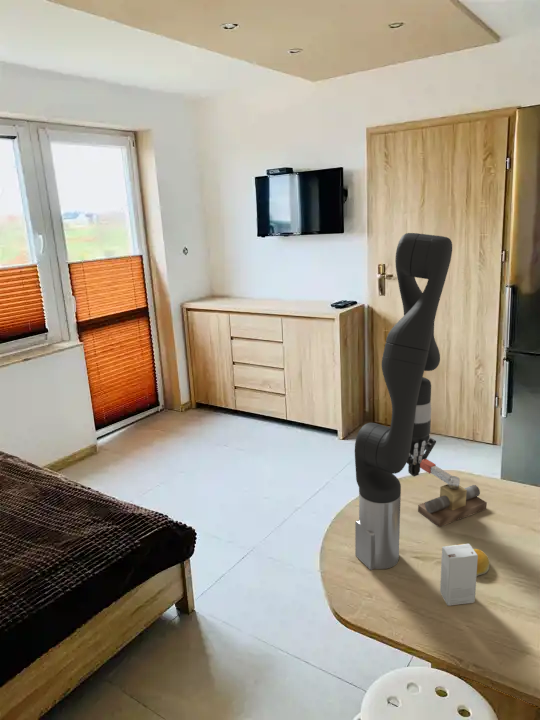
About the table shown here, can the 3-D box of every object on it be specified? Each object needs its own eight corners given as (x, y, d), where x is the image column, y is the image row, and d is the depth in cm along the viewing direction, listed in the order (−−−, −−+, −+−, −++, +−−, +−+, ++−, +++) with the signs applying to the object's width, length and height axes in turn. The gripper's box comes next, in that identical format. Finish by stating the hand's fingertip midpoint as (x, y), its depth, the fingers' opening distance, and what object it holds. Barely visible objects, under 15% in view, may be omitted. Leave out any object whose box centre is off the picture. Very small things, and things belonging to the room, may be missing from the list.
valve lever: (461, 487, 146) (462, 479, 145) (453, 490, 144) (453, 482, 144) (426, 465, 157) (426, 458, 156) (418, 468, 156) (418, 460, 155)
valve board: (439, 527, 142) (440, 502, 140) (418, 511, 149) (418, 488, 146) (486, 509, 148) (488, 485, 146) (464, 494, 155) (465, 472, 153)
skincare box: (466, 589, 120) (469, 541, 117) (475, 604, 116) (479, 555, 112) (438, 592, 120) (441, 544, 116) (446, 607, 116) (449, 558, 112)
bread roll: (482, 582, 122) (483, 567, 121) (442, 567, 128) (443, 552, 127) (494, 562, 129) (496, 547, 127) (456, 548, 134) (457, 533, 133)
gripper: (405, 427, 142) (403, 487, 147) (445, 415, 147) (442, 474, 152) (386, 416, 148) (385, 474, 154) (426, 406, 153) (423, 462, 159)
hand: (414, 474), depth 153 cm, fingers closed
